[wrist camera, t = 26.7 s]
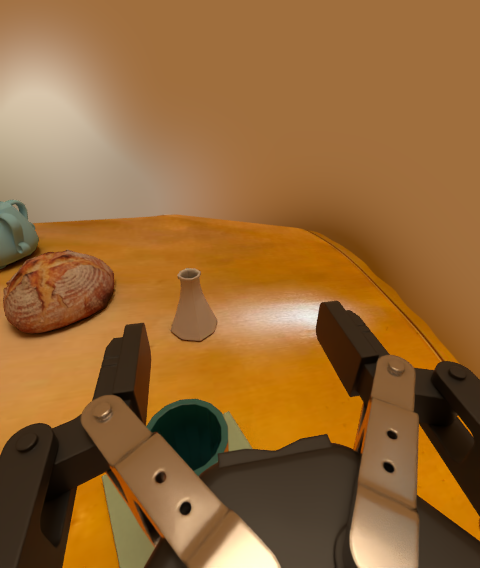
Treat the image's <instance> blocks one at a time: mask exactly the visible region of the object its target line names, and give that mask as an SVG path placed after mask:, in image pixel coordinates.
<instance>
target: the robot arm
mask: <svg viewBox="0 0 480 568" xmlns="http://www.w3.org/2000/svg"><path fill="white" fill-rule="evenodd" d="M316 335H317V339H318V341H319V343H320V344H321V346H322V348H323V350H324V352H325V353H326V355H327V357H328V359H329V361H330V362H331V364H332V366H333V368H334V369H335V371H336V373H337V375H338V377H339V378H340V380H341V382H342V384H343V385H344V387H345V389H346V391H347V393H348V394H349V396H350V397H353V396H360V397H361V399H362V400H363V405H362V410H361V415H360V420H359V424H358V429H357V434H356V439H355V443H354V447H353V449H351V448H349V447H346V446H343V445H340V444H336V443H331V442H330V440H329V437H328V435H327V434H324V435H319V436H313V437H307V438H302V439H299V440H297V441H295V442H293V443H291V444H289V445H287V446H285V447H283V448H281V449H279V450H276V451H269V450H258V449H240V450H234V451H229V452H223V453H218V463H216V464H214V465H212V466H210V467H209V468H207V469H206V470H205V471H204V472H202V473H201V474H200V475H199V476H198V475H197V474H196V473H195V472H194V471H193V470H192V469H191V468H190V467H189V466H188V465H187V463H186V462H185V461H184V460H183V459H182V458H181V457H180V456H179V455H178V454H177V452H176V451H175V450H174V449H173V448H172V447H171V446H170V445H169V444H168V443H167V441H166V440H165V439H164V438H163V437H162V436H161V435H160V434H159V433H157V432H154V433H152V432H151V431H150V430H149V429H148V428H147V427H146V417H147V405H148V393H149V381H150V369H151V351H150V346H149V341H148V337H147V332H146V328H145V324H144V323H138V324H129V325H126V326H125V329H124V334H123V337H121V338H113V340H112V341H111V342H110V343H109V345H108V346H107V347H106V350H105V354H104V360H103V362H102V368H101V369H100V373H99V377H98V381H97V385H96V389H95V393H94V396H93V400H92V402H90V403H89V404H88V405H87V406H86V407H85V409H84V410H83V412H82V414H81V415H80V416H78V417H77V418H75V419H73V420H71V421H69V422H67V423H64V424H62V425H60V426H57V427H55V428H51V427H50V426H49V425H47V424H43V423H37V424H32V425H29V426H27V427H25V428H23V429H21V430H19V431H18V432H17V433H15V434H14V435H13V436H12V437H11V438H10V439H9V440H8V441H7V443H6V444H5V446H4V448H3V450H2V453H1V455H0V568H62V566H63V561H64V555H65V550H66V544H67V539H68V533H69V528H70V523H71V517H72V512H73V506H74V501H75V495H76V490H77V486H79V485H81V484H83V483H85V482H87V481H89V480H90V479H92V478H94V477H96V476H98V475H100V474H102V473H104V472H105V473H106V474H107V476H108V477H109V479H110V480H111V482H112V483H113V485H114V486H115V488H116V489H117V490H118V492H119V493H120V495H121V496H122V498H123V499H124V501H125V502H126V504H127V505H128V507H129V508H130V510H131V511H132V513H133V515H134V517H135V518H136V520H137V522H138V523H139V525H140V527H141V528H142V530H143V531H144V533H145V534H146V536H147V537H148V539H149V540H150V542H151V543H152V545H153V546H154V550H153V552H152V554H151V556H150V557H149V559H148V561H147V563H146V564H145V566H144V568H480V541H479V540H477V539H476V538H475V537H473V536H472V535H471V534H469V533H468V532H467V531H465V530H464V529H462V528H461V527H460V526H458V525H457V524H456V523H454V522H453V521H452V520H450V519H449V518H447V517H446V516H445V515H443V514H442V513H441V512H439V511H438V510H437V509H435V508H434V507H433V506H431V505H430V504H428V503H427V502H426V501H424V500H423V499H422V498H420V497H419V496H418V495H417V466H418V432H419V424H420V426H421V427H422V429H423V430H424V432H425V433H426V435H427V436H428V438H429V440H430V441H431V443H432V444H433V446H434V447H435V449H436V450H437V452H438V453H439V455H440V456H441V458H442V459H443V461H444V462H445V464H446V466H447V467H448V469H449V470H450V472H451V473H452V475H453V476H454V478H455V479H456V481H457V482H458V484H459V485H460V487H461V489H462V490H463V492H464V493H465V495H466V496H467V498H468V499H469V501H470V502H471V504H472V505H473V507H474V508H475V510H476V511H477V513H478V515H479V516H480V380H479V379H478V378H477V377H476V376H475V375H474V374H473V373H472V372H471V371H470V370H469V369H468V368H466V367H464V366H462V365H460V364H458V363H455V362H450V361H443V362H440V363H438V364H437V366H436V368H435V370H427V369H419V368H413V366H412V365H411V364H410V363H409V362H407V361H406V360H404V359H403V358H400V357H398V356H394V355H390V354H389V353H388V352H387V351H386V349H385V348H384V347H383V346H382V344H381V343H380V342H379V341H378V339H377V338H376V337H375V336H374V334H373V333H372V332H371V331H370V329H369V328H368V327H367V326H366V324H365V323H364V322H363V320H362V319H361V318H360V317H359V316H358V315H356V314H355V313H353V312H352V311H350V310H347V311H346V310H345V309H344V308H343V306H342V305H341V304H340V302H339V301H330V302H322V303H321V304H320V307H319V313H318V319H317V324H316ZM457 415H458V416H459V417H460V418H461V419H462V421H463V422H464V423H465V424H466V426H467V427H468V428H469V429H470V431H471V433H472V435H473V436H472V435H471V434H470V433H469V431H468V430H467V429H466V427H465V426H464V425H463V424H462V422H461V421H460V420H459V419H458V417H457ZM473 437H474V438H473ZM479 529H480V518H479Z"/></svg>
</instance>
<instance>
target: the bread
mask: <svg viewBox="0 0 480 568" xmlns="http://www.w3.org/2000/svg"><path fill="white" fill-rule="evenodd" d="M113 279H114V273H113V271H112V270H111V269H110V267H108V266H107V265H106V264H105V263H104V262H103V261H101V260H100V259H98V258H96V257H93V256H90V255H86V254H81V253H76V252H73V251H70V250H66V251H63V252H56V253H54V252H47V253H44V254H42V255H40V256H37V257H34V258H32V259H28V260H26V262H24V264H23V265H22V267H21V268H20V269H19V271H18V272H17V273H16V274H15V275H14V276H13V277H12V278H11V280H9V281H8V282H7V283H6V284H7V285H8V286H7V288H4V298H3V303H4V311H5V316H6V317H7V320H8V321H9V322H10V323H11V324H12V325H14V326H15V327H16V328H17V329H18V330H20V331H22V332H25V333H41V332H46V331H51V330H54V329H58V328H61V327H64V326H67V325H69V324H71V323H74V322H77V321H79V320H81V319H84V318H86V317H88V316H90V315H92V314H94V313H96V312H98V311H100V310H102V309H104V308H105V306H106V304H107V302H108V301H109V299H110V297H111V295H112V292H113V288H114V280H113Z"/></svg>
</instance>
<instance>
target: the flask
mask: <svg viewBox="0 0 480 568" xmlns="http://www.w3.org/2000/svg"><path fill="white" fill-rule="evenodd" d="M200 275H201V272H200V271H198V270H197V269H190V268H186V269H184V270H182V271H180V272H179V274H178V279H180V282H181V293H180V300H179V304H178V308H177V311H176V315H175V318H174V321H173V324H172V328H171V332H173V333H174V334H175V335H177V336H178V337H179V338H181V339H183V340H196V341H201V340H202V339H204V338H205V337H207V336H208V335H210V334H211V333H213V332H214V331H215V327H216V323H217V319H216V317H215V315H214V313H213V311H212V310H211V308H210V306H209V304H208V303H207V301H206V299H205V297H204V295H203V293H202V290H201V286H200V281H199V277H200Z"/></svg>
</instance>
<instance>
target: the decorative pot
mask: <svg viewBox="0 0 480 568" xmlns="http://www.w3.org/2000/svg"><path fill="white" fill-rule="evenodd" d="M13 204H16V205H17V206H18V208H19V211H18V210H17V209H16V208H15V207H13V206H12V205H13ZM38 241H39V238H38V236H37V233H36V231H35V226H34V225H33V224H32V223H30V222H29V221H28V216H27V209H26V207H25V205H24V204H23V203H22V202H20V201H17V200H8V201H6V202H1V201H0V269H2V268H4V267H6V265H7V264H10V263H13V262H15V261H17V260H19V259H21V258H23V257H25V256H29V255H31V254H32V252H34V251H35V250H36V247H37V245H38Z"/></svg>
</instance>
